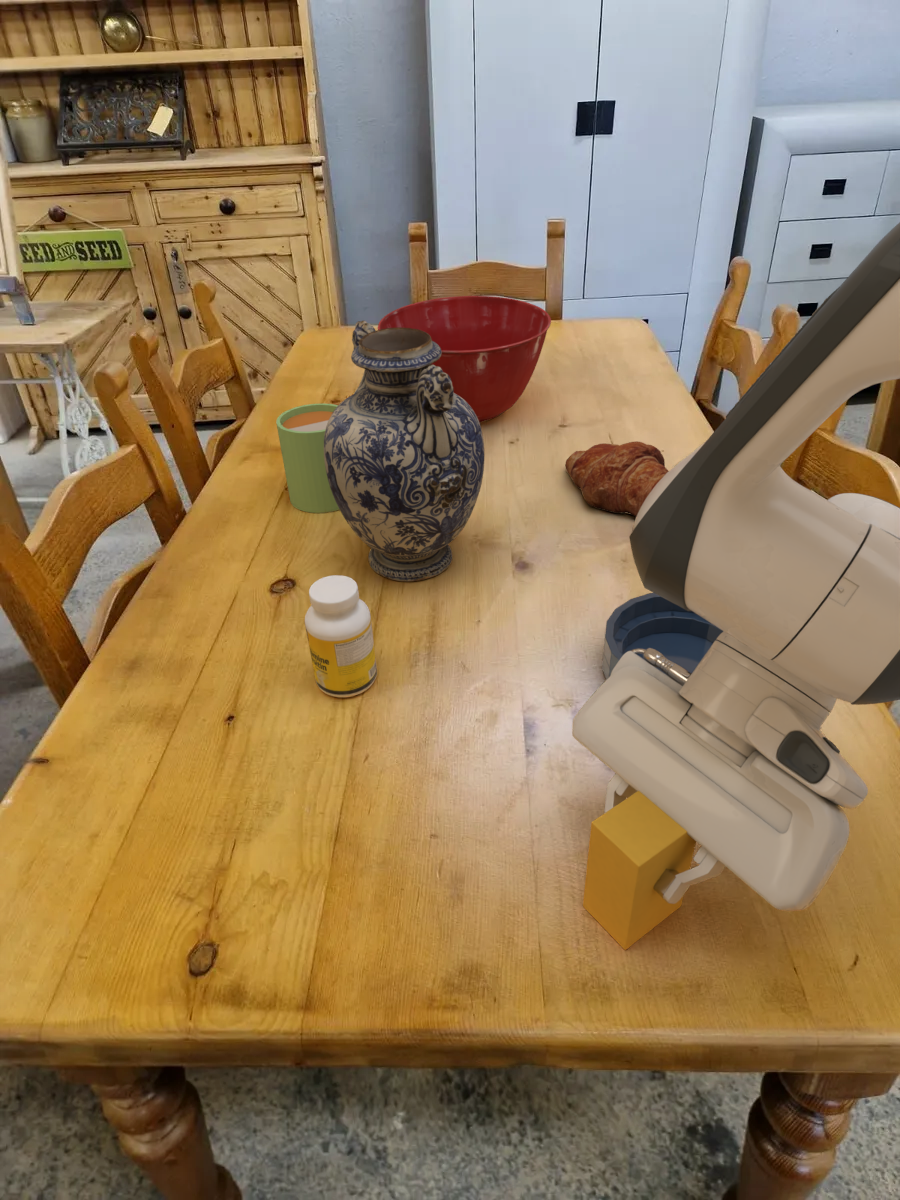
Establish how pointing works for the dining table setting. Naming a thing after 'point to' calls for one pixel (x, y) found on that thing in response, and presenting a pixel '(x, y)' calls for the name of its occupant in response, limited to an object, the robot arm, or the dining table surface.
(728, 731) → the robot arm
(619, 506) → the pastry
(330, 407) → the mug
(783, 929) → the dining table surface
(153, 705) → the dining table surface
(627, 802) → the yellow rectangular block
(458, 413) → the decorative vase
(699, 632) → the bowl
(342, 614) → the pill bottle
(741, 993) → the dining table surface
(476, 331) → the mixing bowl
